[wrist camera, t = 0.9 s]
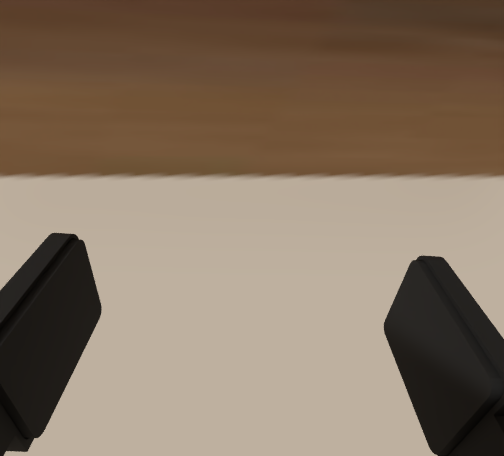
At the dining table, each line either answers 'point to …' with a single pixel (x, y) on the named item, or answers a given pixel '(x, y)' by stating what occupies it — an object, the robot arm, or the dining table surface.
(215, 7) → the dining table surface
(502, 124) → the dining table surface
